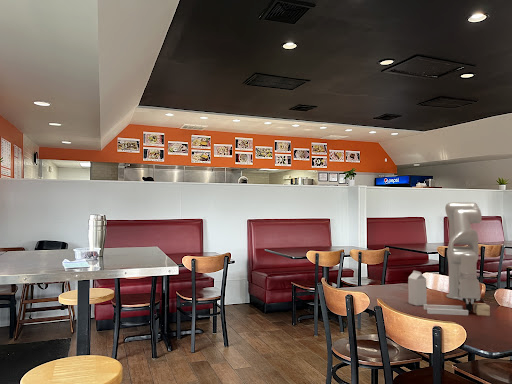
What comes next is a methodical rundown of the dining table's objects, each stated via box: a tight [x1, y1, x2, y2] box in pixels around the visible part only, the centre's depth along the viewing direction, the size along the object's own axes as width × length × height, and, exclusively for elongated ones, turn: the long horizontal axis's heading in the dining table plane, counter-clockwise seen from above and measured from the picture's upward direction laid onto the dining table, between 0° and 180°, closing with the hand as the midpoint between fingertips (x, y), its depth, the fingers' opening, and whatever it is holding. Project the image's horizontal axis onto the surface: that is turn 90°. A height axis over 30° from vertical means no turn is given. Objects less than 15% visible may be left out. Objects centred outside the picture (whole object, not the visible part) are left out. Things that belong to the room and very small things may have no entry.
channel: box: [423, 304, 469, 316], centre depth 222 cm, size 10×20×2 cm, turn 80°
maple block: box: [473, 302, 491, 317], centre depth 219 cm, size 6×6×5 cm
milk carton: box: [407, 269, 428, 306], centre depth 240 cm, size 7×7×19 cm
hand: (469, 311), depth 220 cm, fingers closed
